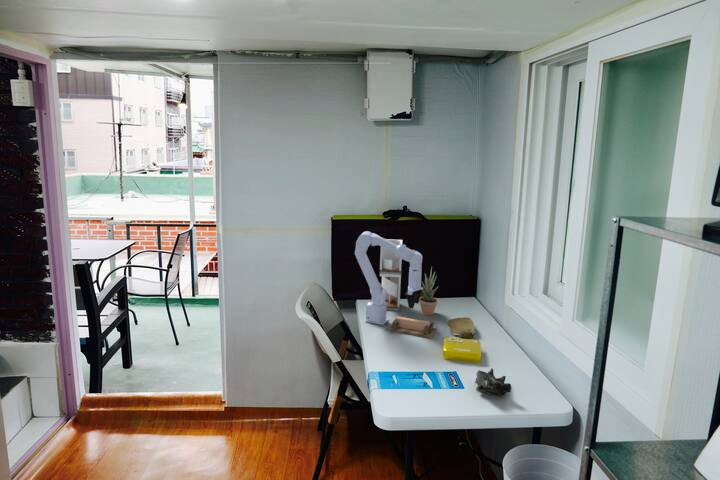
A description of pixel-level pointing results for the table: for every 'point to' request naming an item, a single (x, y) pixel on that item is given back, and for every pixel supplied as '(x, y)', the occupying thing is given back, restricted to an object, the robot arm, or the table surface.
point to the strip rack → (426, 333)
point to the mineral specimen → (491, 383)
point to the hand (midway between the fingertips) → (413, 305)
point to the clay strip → (412, 323)
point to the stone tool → (462, 327)
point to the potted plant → (428, 296)
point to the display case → (391, 275)
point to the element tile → (462, 350)
